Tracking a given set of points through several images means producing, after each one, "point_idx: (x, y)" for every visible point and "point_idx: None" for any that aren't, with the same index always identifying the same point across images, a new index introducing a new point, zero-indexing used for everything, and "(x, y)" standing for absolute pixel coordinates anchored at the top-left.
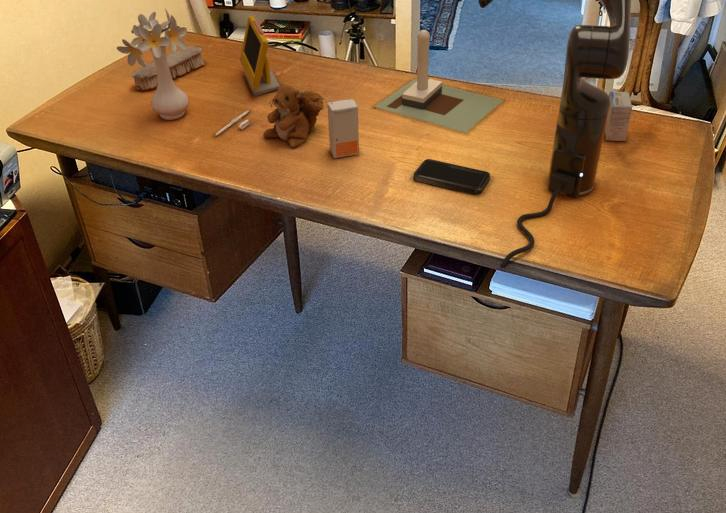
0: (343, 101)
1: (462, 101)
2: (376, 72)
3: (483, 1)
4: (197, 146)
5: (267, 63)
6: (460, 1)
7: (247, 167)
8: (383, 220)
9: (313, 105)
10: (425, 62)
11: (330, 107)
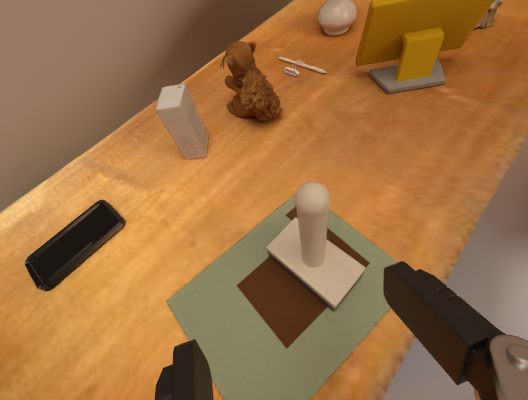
0: (177, 96)
1: (280, 342)
2: (454, 212)
3: (168, 368)
4: (265, 51)
5: (403, 51)
6: (389, 305)
7: (211, 82)
8: (68, 167)
9: (241, 93)
10: (299, 233)
11: (170, 86)
